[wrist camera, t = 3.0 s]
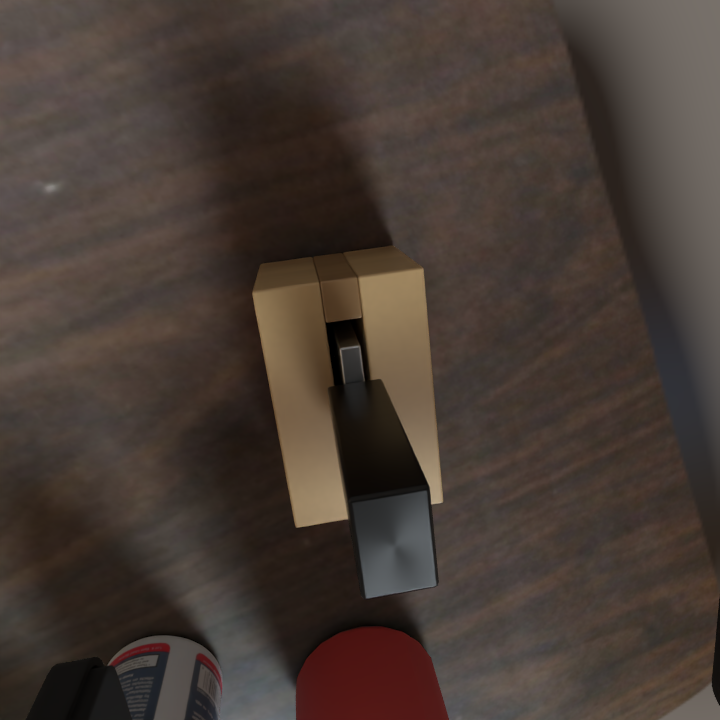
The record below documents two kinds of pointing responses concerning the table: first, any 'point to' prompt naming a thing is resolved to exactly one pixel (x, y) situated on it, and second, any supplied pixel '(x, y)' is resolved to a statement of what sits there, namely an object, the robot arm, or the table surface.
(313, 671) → the beer can
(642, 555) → the table surface
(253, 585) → the table surface
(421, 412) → the stand
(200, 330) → the table surface
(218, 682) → the pill bottle
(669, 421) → the table surface
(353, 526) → the knife
